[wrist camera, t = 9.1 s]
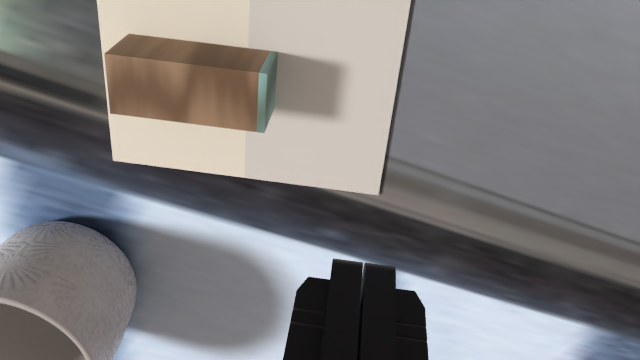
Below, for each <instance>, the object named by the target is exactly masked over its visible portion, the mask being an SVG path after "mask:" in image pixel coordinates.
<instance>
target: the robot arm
mask: <svg viewBox="0 0 640 360" xmlns="http://www.w3.org/2000/svg"><path fill="white" fill-rule="evenodd" d="M362 268H363V263H362V262H355V261H347V260H340V259H333V263H332V271H331V278H330V280H327V279H320V278H313V277H308V278H307V279H306V280H305V282H304V283H303V284H302V285H301V286H300V287H299V288H298V290H297V292H296V297H295V302H294V307H293V312H292V317H291V323H290V327H289V332H288V337H287V342H286V347H285V353H284V358H283V360H428V347H427V333H426V318H425V307H424V306H423V304H422V302H421V301H420V299H419V297H418V296H417V294H416V292H415V291H409V290H402V289H396V272H395V267H393V266H385V265H378V264H371V263H365V265H364V270H363V276H362Z"/></svg>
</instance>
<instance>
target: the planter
mask: <svg viewBox="0 0 640 360" xmlns="http://www.w3.org/2000/svg"><path fill="white" fill-rule="evenodd" d="M136 293H137V286H136V278H135V274H134V271H133V269H132V266H131V264H130V263H129V261H128V259H127V258H126V256H125V255H124V253H123V252H122V251H121V250H120V249H119V248H118V247H117V246H116V245H115V244H114V243H113V242H112V241H111V240H109V239H108V238H107V237H105V236H104V235H102V234H100V233H99V232H97V231H95V230H93V229H91V228H88V227H86V226H83V225H80V224H76V223H71V222H64V221H48V222H42V223H38V224H34V225H31V226H29V227H26V228H24V229H22V230H21V231H19V232H17V233H16V234H14V235H12V236H11V237H10V238H9V239H7V240H6V241H5V242H4V243H2V244H1V245H0V360H113V358H114V356H115V353H116V351H117V349H118V347H119V345H120V342H121V340H122V338H123V336H124V333H125V331H126V328H127V326H128V324H129V321H130V318H131V315H132V312H133V309H134V305H135V300H136Z"/></svg>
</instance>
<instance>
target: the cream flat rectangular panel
mask: <svg viewBox="0 0 640 360" xmlns="http://www.w3.org/2000/svg"><path fill="white" fill-rule="evenodd" d="M410 4H411V0H97V7H98V17H99V27H100V36H101V46H102V56H103V66H104V76H105V86H106V96H107V106H108V116H109V126H110V136H111V145H112V155H113V161H120V162H128V163H135V164H143V165H151V166H158V167H166V168H174V169H181V170H189V171H197V172H204V173H212V174H220V175H227V176H235V177H243V178H250V179H258V180H266V181H273V182H281V183H289V184H296V185H304V186H312V187H319V188H327V189H335V190H343V191H350V192H358V193H366V194H373V195H379V189H380V183H381V177H382V171H383V165H384V159H385V153H386V147H387V141H388V135H389V129H390V123H391V117H392V111H393V105H394V99H395V93H396V87H397V81H398V75H399V69H400V63H401V57H402V51H403V45H404V39H405V33H406V27H407V21H408V15H409V10H410ZM128 34H136V35H145V36H153V37H161V38H169V39H177V40H186V41H194V42H202V43H210V44H218V45H227V46H235V47H243V48H251V49H259V50H268V51H276V52H278V57H277V75H276V93H275V108H274V110H273V113H272V115H271V118H270V120H269V123H268V125H267V128H266V130H265V133H259V132H252V131H244V130H236V129H228V128H220V127H212V126H204V125H197V124H189V123H181V122H173V121H165V120H157V119H149V118H142V117H134V116H126V115H118V114H110V106H109V96H108V86H107V76H106V66H105V56H104V53H106V52H107V51H108V50H109V49H111V48H112V47H113V46H114V45H115V44H117V43H118V42H119V41H120V40H121V39H123V38H124V37H125V36H126V35H128Z"/></svg>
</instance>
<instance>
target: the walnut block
mask: <svg viewBox="0 0 640 360" xmlns="http://www.w3.org/2000/svg"><path fill="white" fill-rule="evenodd" d="M104 56H105V66H106V76H107V86H108V96H109V106H110V114H118V115H126V116H134V117H142V118H149V119H157V120H165V121H173V122H181V123H189V124H197V125H204V126H212V127H220V128H228V129H236V130H244V131H252V132H259V133H265V130H266V128H267V125H268V123H269V120H270V118H271V115H272V113H273V110H274V108H275V93H276V75H277V57H278V52H276V51H268V50H259V49H251V48H243V47H235V46H227V45H218V44H210V43H202V42H194V41H186V40H177V39H169V38H161V37H153V36H145V35H136V34H128V35H126V36H125V37H124V38H123V39H121V40H120V41H119V42H118V43H117V44H115V45H114V46H113V47H112V48H111V49H109V50H108V51H107V52H106V53H104Z"/></svg>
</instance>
